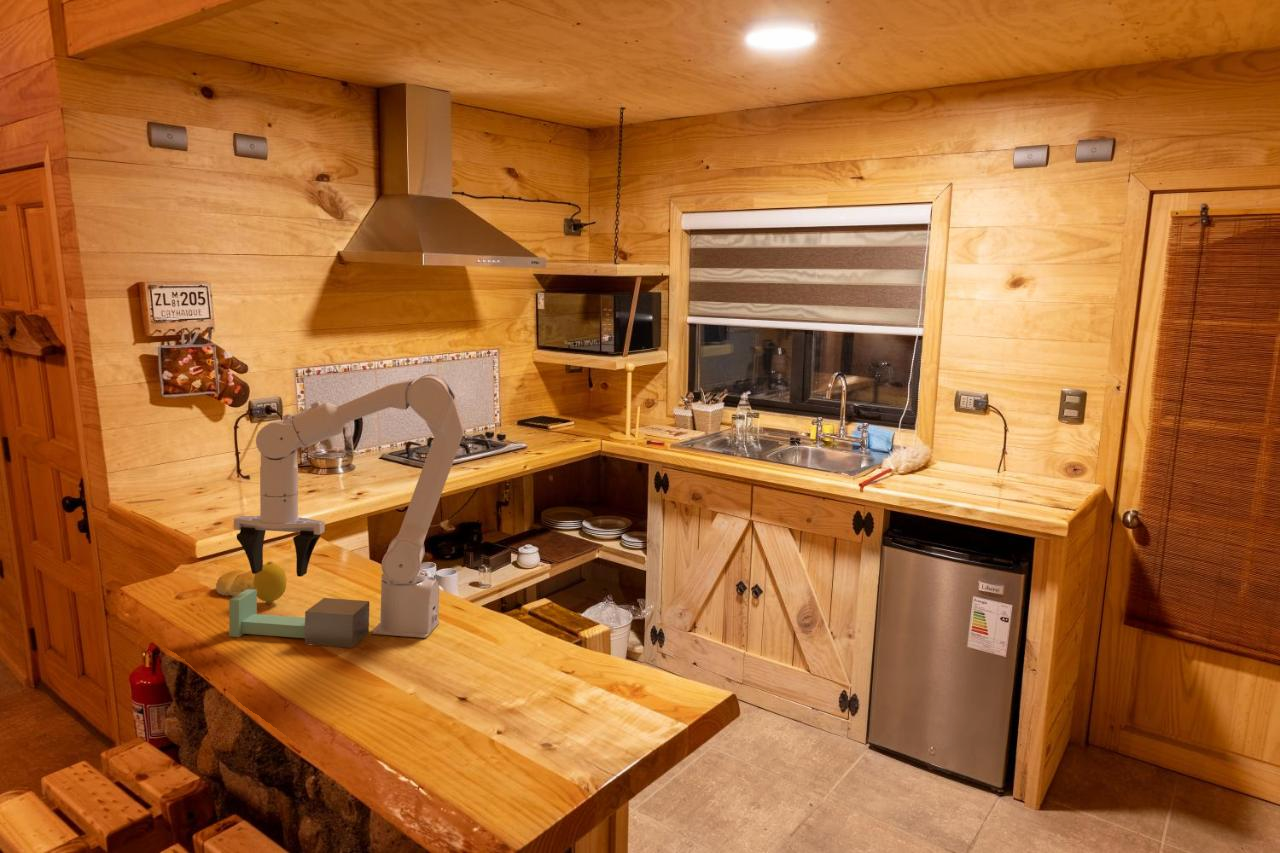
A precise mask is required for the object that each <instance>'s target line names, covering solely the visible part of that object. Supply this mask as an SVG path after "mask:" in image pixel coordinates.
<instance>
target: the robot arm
mask: <svg viewBox="0 0 1280 853" xmlns="http://www.w3.org/2000/svg"><path fill="white" fill-rule="evenodd" d="M388 408H393V409H397V410H402V411H405V410H406V411H407V410H408V409H409V408H411V409H412V410H413V411H414V412H415V413H416V414H417V415H418V416H419V417H420V418H422V420H424V421H425V423H426V425H427V427H428V429H429V430H430V432H431V434H432V435H433V436H432V437H433V439H432V442H431V444H430V446H429V451H428V453H427V455H426V458H425V461H424V463H423V467H422V469H421V472H420V475H419V477H418V479H417V480H418V481H417V483H416V485H415V487H414V491H413V494H412V496H411V498H410V502H409V505H408V507H407V510H406V512H405V515H404V518H403V521H402V523H401V526H400V529H399V532H398V534H397V535H396V536H395V537H394V538H392V539H391V541H390V542H389V545H388V547H387V550H386V553H385V554H384V555H383V558H382V560H381V570H382V571H381V572H382V573H383V574H381V577H380V578H381V579H380V585H381V586H380V617H379V618H380V621H379V623H378V624H377V625H376V626H375V627H374V628H373V629H372V630H371V632H370V633H371V634H372V635H381V636H382V635H383V636H395V637H396V636H399V637H410V638H422V639H423V638H424V639H426V638H427V637H428V636H429V635H430V634H431V633H432V632H433V630H434V629H435V628H436V627H437V626H438V624H439V623H440V619H439V614H440V612H439V610H440V609H439V608H440V585H439V582H438V581H437V580H434V579H430V578H427V577H426V573H425V572H424V570H423V569H422V568H421V567H422V566H421V565H422V561H423V559H424V557H425V552H426V551H425V544H424V543H425V540H426V536H427V534H428V531H429V528H430V526H431V524H432V520H433V517H434V515H435V512H436V510H437V507H438V505H439V502H440V498H441V496H442V493H443V491H444V488H445V485H446V482H447V480H448V477H449V474H450V472H451V469H452V466H453V463H454V460H455V458H456V456H457V453H458V450H459V447H460V444H461V441H462V439H463V437H464V427H463V422H462V419H461V416H460V411H459V408H458V404H457V400H456V395H455V393H454V392H453V390H452V388H451V387H450V385H449V384H448V383H447V381H446V380H445V379H444V378H443V377H441V376H439V375H437V374H433V373H432V374H431V373H429V374H424V375H422V376H420V377H418V378H417V379H416V378H415V377H414V378H410V379H406V380H401V381H397V382H394V383H390V384H387V385H385V386H383V387H381V388H379V389H376V390H373V391H371V392H368V393H367V394H364V395H362V396H360V397H357V398H354V399H351V400H350V401H347V402H345V403H343V404H340V405H338V404H337V405H336V404H334V403H332V402H329V401H325V402H323V403H321V401H319V400H318V401H315V402H312V403H311V404H310V408H307V409H304V410H302V411H299V412H297V413H295V414H290V413H286V414H284V415H282V419H283V420H282V419H281V420H276V421H272V422H269V423H267V425H265V426H263V427H262V428H261V429H260V430H259V431H258V432H257V434H256V437H255V445H256V447H257V448H256V449H257V450H258V452H260V467H259V478H260V479H259V488H260V489H259V501H260V507H259V508H260V511H259V512H260V515H239V516H236V517H233V530H234V531H239V533H236V540H237V541H238V542H239V544H240V545H241V546H242V548H243V551H244V553H245V554H246V557H247V559H248V563H249V566H250V571H252V574H257V573H258V572H260V571H262V567H263V565H264V555H263V554H264V541H265V536H266V531H268V532H269V531H271V532H287V533H299V534H297V535H295V536H293V538H292V540H293V544H294V549H295V554H296V556H295V558H296V577H299V578H300V577H303V576H305V575H306V574H307V572H308V567H309V564H310V561H311V560H310V559H311V557H312V554H313V551H314V549H315V547H316V545H317V543H318V541H319V540H320V537H321V534H323V533H325V532H326V531H325V529H326V528H325V526H326V525H325V522H326V521H325V520H321V519H320V520H318V519H313V518H312V519H311V518H305V517H300V516H299V466H298V449H299V448H304V449H305V448H308V447H311V446H313V445H315V444H318V443H322V442H324V441H326V440H328V439H330V438H333V437H336V436H340V435H341V434H342V433H343V430H344V428H345V425H346V423H350V422H352V421H354V420H358V419H361V418H363V417H366V416H368V415H371V414H375V413H377V412H380V411H383V410H385V409H388Z"/></svg>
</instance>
